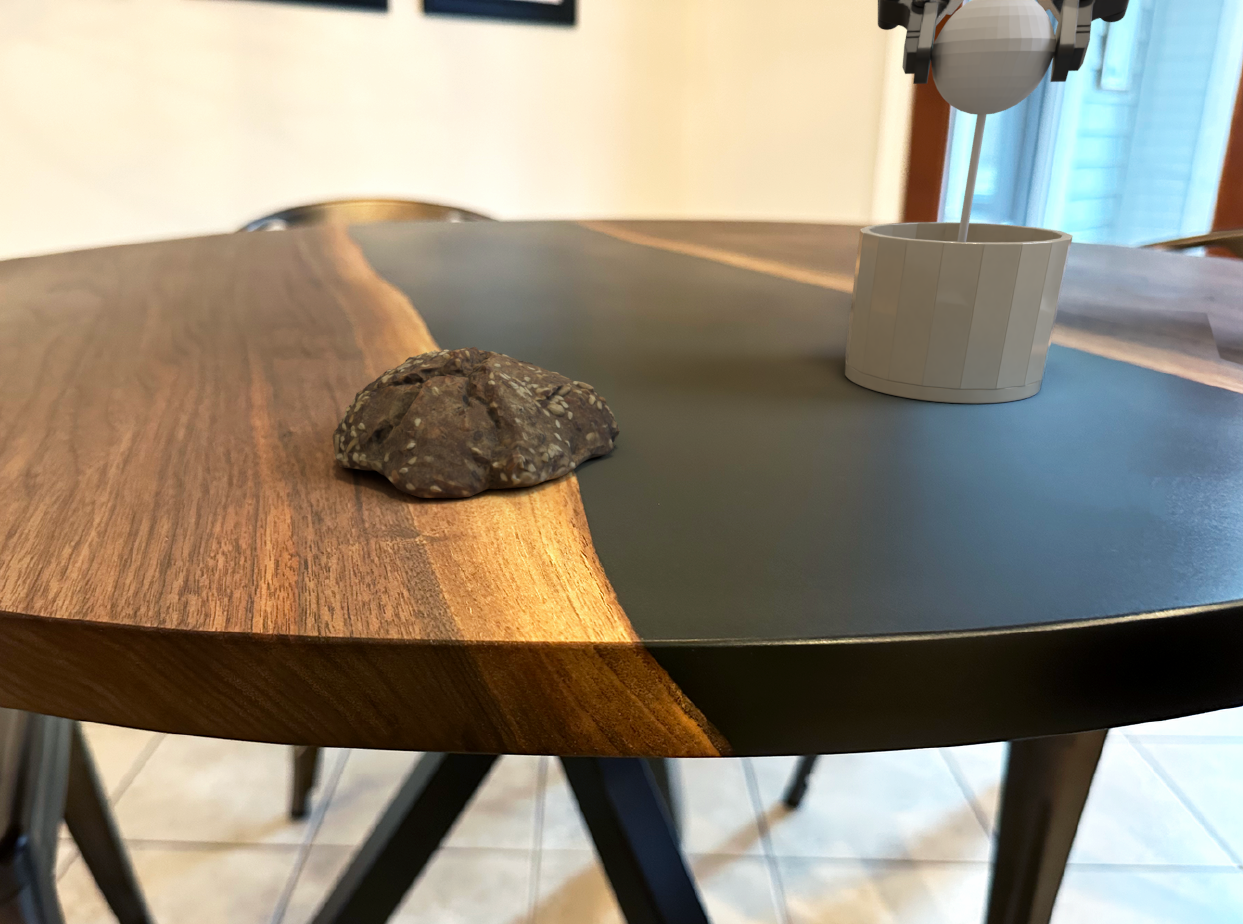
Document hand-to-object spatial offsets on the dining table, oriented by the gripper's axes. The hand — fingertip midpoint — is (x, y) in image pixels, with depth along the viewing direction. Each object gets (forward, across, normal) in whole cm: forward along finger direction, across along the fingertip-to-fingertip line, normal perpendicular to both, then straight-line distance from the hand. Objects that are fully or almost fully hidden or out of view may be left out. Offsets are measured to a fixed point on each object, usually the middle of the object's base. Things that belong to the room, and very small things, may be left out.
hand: (990, 69), depth 49 cm
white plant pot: (+11, 0, +13) cm, 17 cm away
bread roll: (+27, -21, -3) cm, 34 cm away
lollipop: (+7, 0, +9) cm, 12 cm away
